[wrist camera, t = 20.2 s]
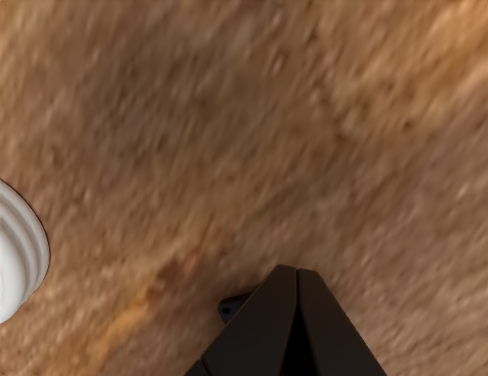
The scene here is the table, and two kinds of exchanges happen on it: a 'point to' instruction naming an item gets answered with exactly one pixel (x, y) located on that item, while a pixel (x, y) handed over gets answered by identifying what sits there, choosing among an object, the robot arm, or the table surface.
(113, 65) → the table surface
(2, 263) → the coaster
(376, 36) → the table surface
